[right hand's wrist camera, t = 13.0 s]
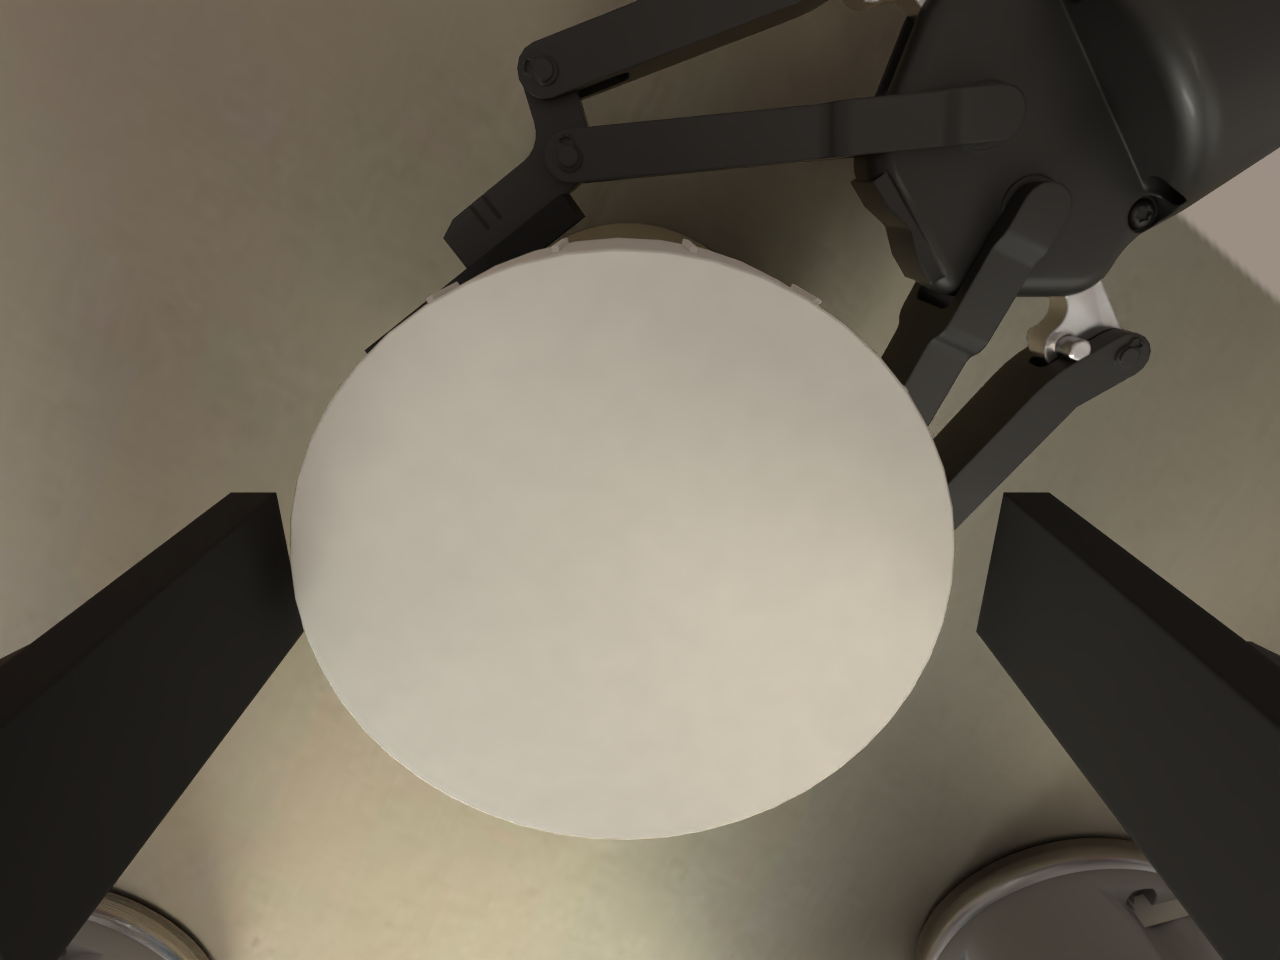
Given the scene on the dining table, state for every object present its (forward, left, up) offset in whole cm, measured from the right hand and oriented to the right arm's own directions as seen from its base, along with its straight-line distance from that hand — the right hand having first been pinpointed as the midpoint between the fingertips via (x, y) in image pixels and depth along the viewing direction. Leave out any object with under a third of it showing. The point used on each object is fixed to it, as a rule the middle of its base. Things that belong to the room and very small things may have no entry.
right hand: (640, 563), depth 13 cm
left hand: (-1, +4, -9) cm, 10 cm away
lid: (0, 0, 0) cm, 1 cm away
